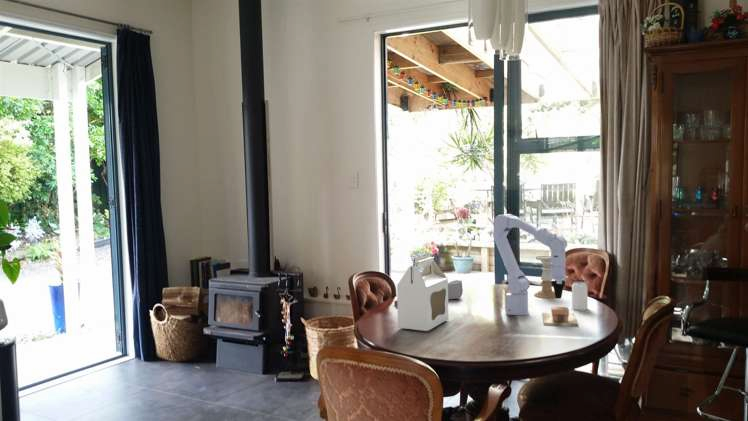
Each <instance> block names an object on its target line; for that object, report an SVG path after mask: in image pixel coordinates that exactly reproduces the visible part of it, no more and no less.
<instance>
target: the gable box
mask: <svg viewBox="0 0 748 421" xmlns="http://www.w3.org/2000/svg"><path fill="white" fill-rule="evenodd" d="M434 258H435V256H432V254H431V253H428V254H424V255H421V256H418V257H414V258H413V263H412V264H413V265H411V266H409V267H408V268H407V270H406V271H405V272H404V274H403V276H402V277H401V278H400V280H399V282H398V283H397V285H396V295H397V296H396V298H397V299H396V300H397V304H398V307H397V328H399V329H405V330H415V331H424V332H429V331H431V330H432V329H434V328H435V327H437V326H440V325H441V324H442V323H444V322H446V321H448V320H449V318H450V317H449V299H448V283H449V279H448V277H447V276H446V274H445V273H444V272H443V271H442V269H441V268H440V266H439V265H438V263H437V261H435V260H434ZM421 268H423V269H422V271H421V272H420V269H421Z"/></svg>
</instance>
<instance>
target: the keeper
mask: <svg viewBox="0 0 748 421" xmlns="http://www.w3.org/2000/svg"><path fill="white" fill-rule="evenodd" d="M550 308H551V309H550V311H551V312H550V313H552V319H553V321H557V314H559V315H564V321H567V322H568V316H569V314H570V309H569V306H551V307H550Z"/></svg>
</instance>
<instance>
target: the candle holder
mask: <svg viewBox="0 0 748 421" xmlns="http://www.w3.org/2000/svg"><path fill="white" fill-rule="evenodd" d="M535 259H536V260H538V261H540V262H541V263H542V267H541V270H542V273H541V277H540V279H541V283H540V285H541V286H542V287H541V290H539V291H537V292H535V293H534V295H533V296H534V297H535V298H537V299H538V298H539V299H557V298H556V297H555V292H554V290H553V288H552V287H553V285H552V283H551V281H553V279H551V255H538V256H535Z"/></svg>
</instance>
